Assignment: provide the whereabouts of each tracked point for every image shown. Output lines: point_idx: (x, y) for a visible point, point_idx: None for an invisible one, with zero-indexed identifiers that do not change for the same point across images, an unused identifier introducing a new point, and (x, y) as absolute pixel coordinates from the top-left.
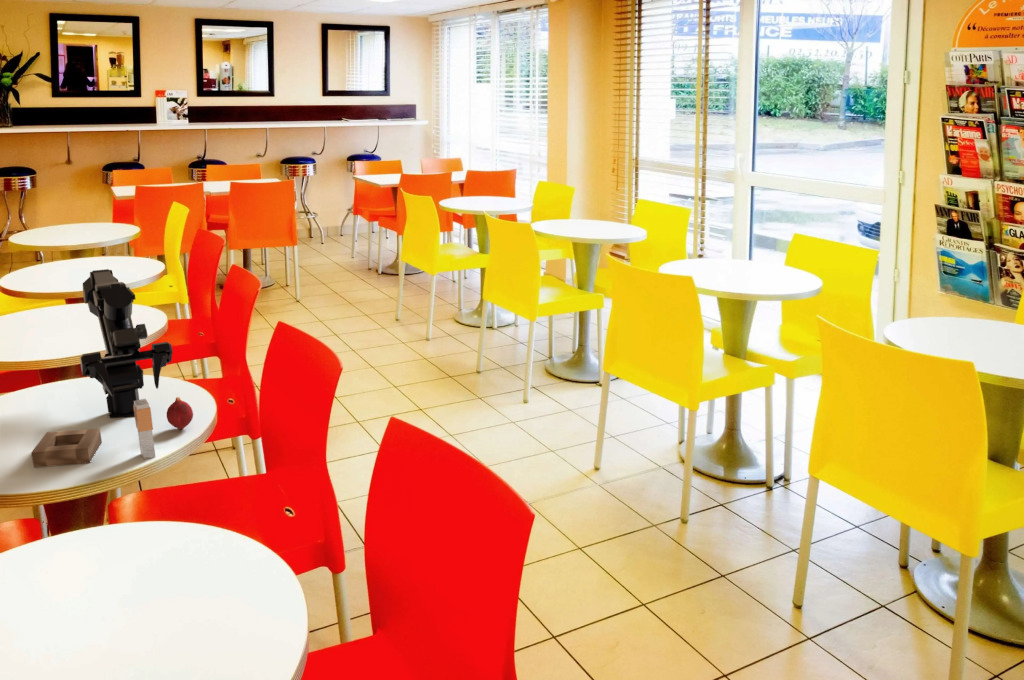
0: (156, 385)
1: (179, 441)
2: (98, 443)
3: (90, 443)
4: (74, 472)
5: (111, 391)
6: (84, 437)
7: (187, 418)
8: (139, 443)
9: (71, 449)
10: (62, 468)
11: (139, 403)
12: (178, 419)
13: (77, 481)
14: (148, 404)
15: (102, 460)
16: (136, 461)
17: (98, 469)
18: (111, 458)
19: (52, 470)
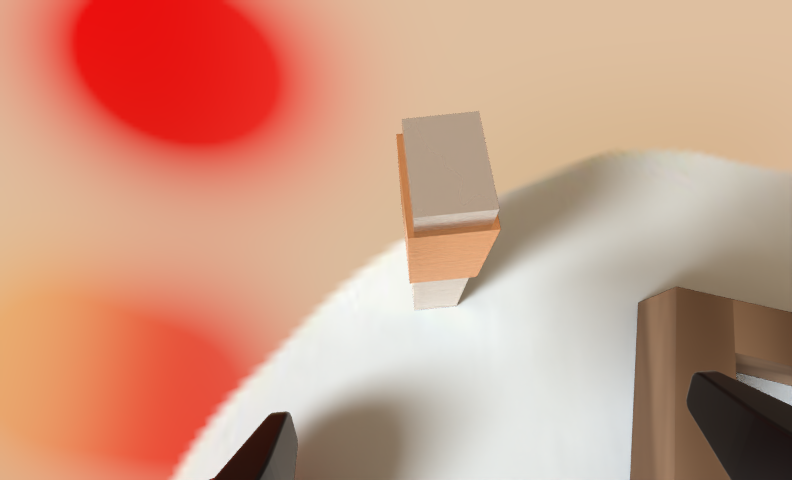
0: (284, 416)
1: (305, 369)
2: (641, 468)
3: (675, 339)
4: (676, 243)
5: (735, 382)
6: None
7: (213, 478)
8: (460, 294)
9: (747, 303)
10: (732, 297)
11: (459, 140)
12: None
13: (648, 171)
14: (403, 124)
15: (593, 307)
16: None
17: (596, 233)
18: (561, 312)
19: (766, 294)
